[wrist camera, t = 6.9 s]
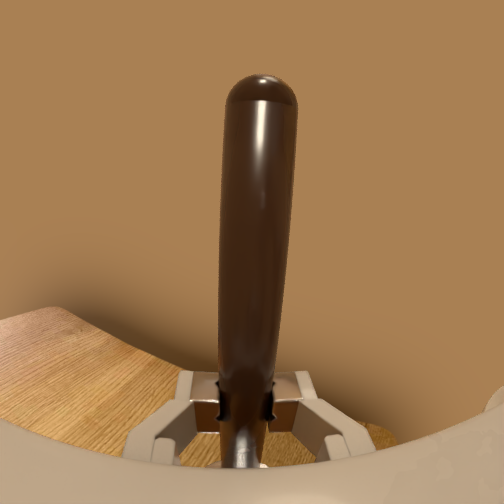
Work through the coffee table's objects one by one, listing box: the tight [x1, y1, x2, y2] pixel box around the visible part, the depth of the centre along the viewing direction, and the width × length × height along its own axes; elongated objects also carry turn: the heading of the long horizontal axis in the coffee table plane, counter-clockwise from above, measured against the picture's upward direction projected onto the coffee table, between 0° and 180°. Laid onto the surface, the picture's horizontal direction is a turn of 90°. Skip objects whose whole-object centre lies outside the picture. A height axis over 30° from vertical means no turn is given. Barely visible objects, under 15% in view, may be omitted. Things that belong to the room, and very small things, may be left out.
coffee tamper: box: [205, 74, 298, 468], centre depth 10 cm, size 6×6×21 cm
